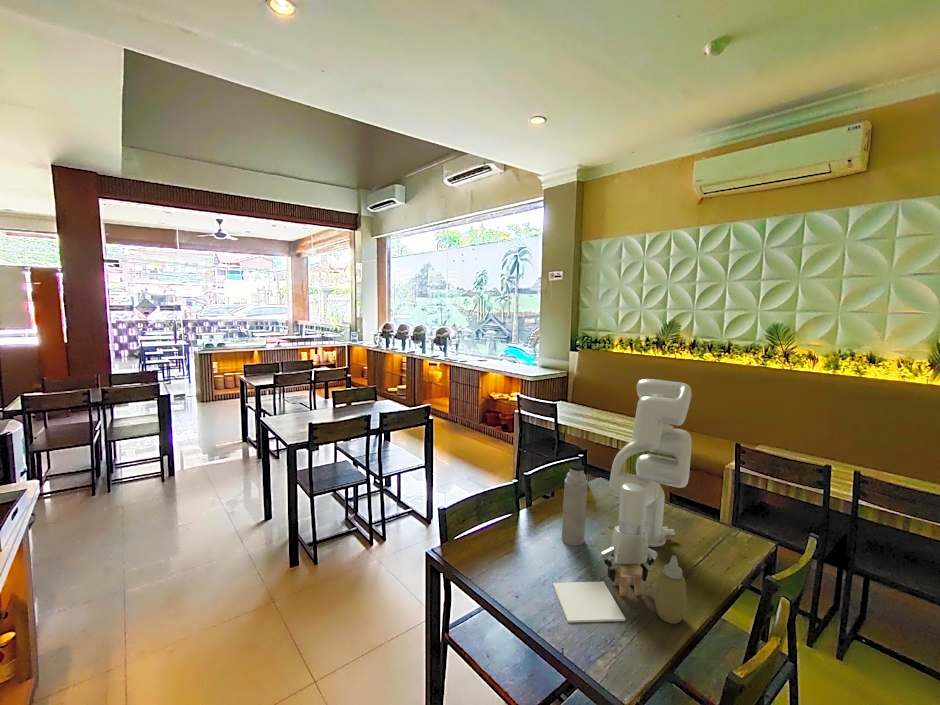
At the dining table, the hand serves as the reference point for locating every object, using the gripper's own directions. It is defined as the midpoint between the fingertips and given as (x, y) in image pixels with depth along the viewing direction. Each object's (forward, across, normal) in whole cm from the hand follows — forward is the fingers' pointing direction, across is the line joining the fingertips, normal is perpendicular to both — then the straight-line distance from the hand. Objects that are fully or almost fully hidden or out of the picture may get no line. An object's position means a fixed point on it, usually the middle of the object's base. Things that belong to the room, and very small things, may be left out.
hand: (627, 578), depth 135 cm
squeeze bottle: (+4, -7, +12) cm, 14 cm away
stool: (+3, 0, 0) cm, 3 cm away
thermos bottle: (+4, +8, -28) cm, 29 cm away
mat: (+3, +14, +5) cm, 15 cm away
